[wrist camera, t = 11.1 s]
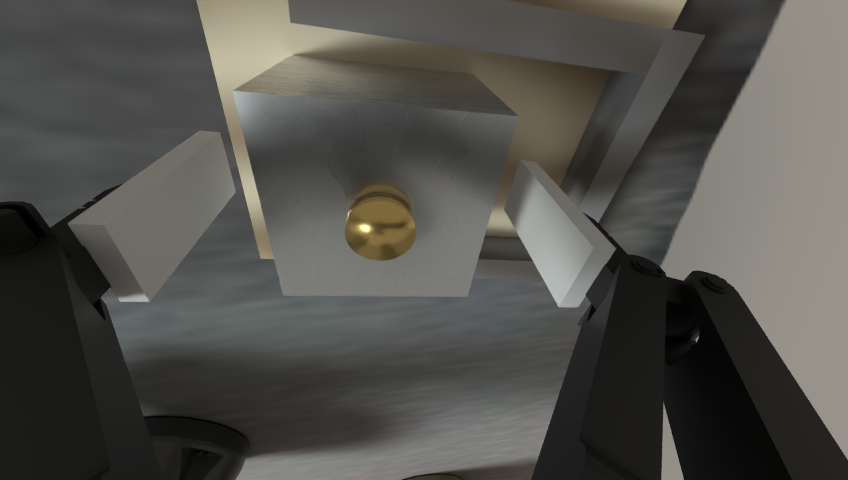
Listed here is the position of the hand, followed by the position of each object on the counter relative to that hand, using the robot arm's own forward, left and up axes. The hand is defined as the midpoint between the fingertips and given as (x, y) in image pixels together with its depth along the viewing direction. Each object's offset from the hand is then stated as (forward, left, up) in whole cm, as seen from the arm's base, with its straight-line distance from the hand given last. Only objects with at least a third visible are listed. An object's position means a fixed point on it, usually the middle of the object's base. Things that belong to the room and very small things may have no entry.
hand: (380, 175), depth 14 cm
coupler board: (0, -3, -4) cm, 5 cm away
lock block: (0, 0, -3) cm, 3 cm away
